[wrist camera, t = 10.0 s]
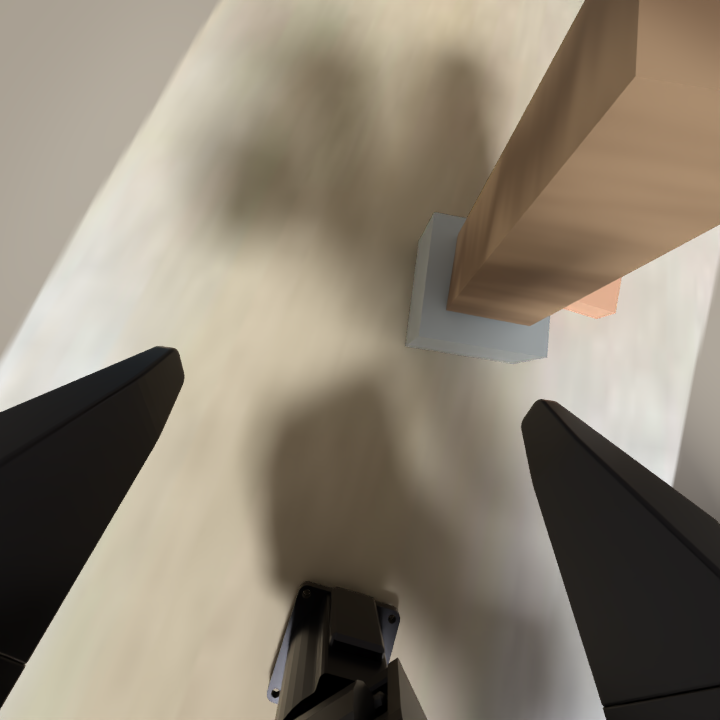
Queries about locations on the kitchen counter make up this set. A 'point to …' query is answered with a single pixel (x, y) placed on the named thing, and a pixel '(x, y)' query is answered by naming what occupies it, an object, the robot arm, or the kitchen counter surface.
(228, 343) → the kitchen counter surface
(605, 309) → the terracotta tile
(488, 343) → the pedestal
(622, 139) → the walnut block
